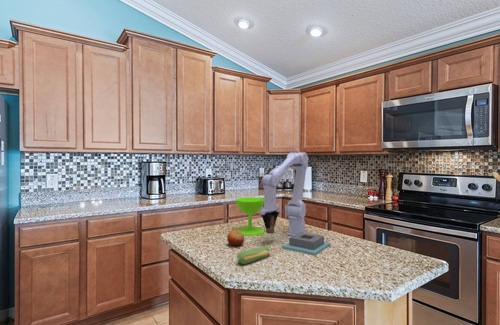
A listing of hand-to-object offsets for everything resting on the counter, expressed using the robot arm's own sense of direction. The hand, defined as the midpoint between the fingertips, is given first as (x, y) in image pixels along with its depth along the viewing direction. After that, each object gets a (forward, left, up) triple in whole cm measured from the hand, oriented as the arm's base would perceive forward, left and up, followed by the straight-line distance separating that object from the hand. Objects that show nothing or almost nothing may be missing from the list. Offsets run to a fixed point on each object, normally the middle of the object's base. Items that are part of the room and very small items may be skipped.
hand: (270, 227), depth 139 cm
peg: (0, 0, -2) cm, 2 cm away
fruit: (+13, -11, -8) cm, 19 cm away
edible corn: (+23, +8, -8) cm, 25 cm away
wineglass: (-11, -20, -8) cm, 24 cm away
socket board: (-5, +17, -8) cm, 19 cm away
